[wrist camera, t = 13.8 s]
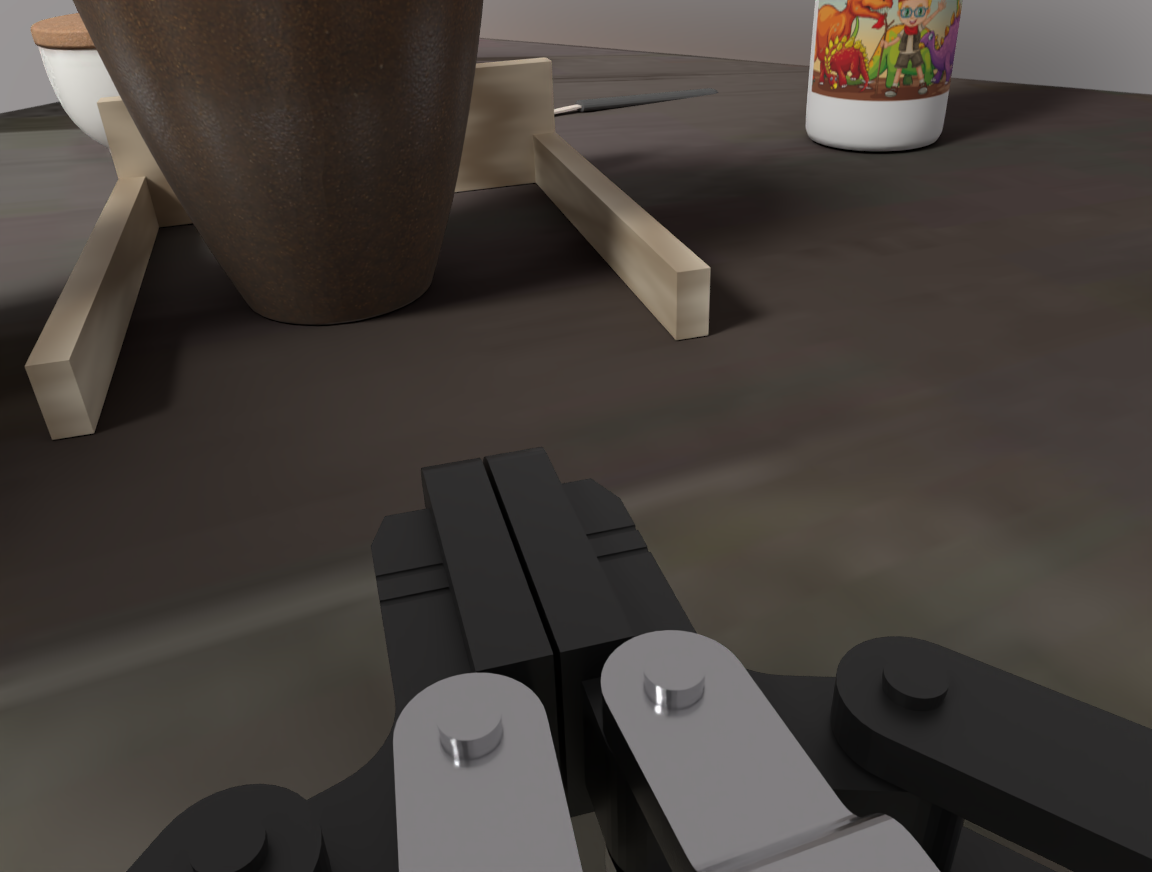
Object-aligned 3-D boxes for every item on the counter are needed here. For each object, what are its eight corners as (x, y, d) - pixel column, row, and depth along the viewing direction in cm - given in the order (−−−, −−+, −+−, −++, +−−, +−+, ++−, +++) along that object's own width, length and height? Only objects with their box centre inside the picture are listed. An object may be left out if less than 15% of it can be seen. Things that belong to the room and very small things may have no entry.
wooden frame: (51, 439, 29) (-19, 251, 26) (136, 223, 48) (100, 97, 45) (708, 335, 34) (713, 164, 31) (551, 174, 52) (545, 57, 49)
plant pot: (580, 325, 35) (558, -201, 27) (145, 410, 30) (-39, -187, 22) (469, 212, 47) (430, -174, 39) (146, 262, 43) (26, -161, 34)
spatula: (300, 151, 61) (295, 127, 61) (691, 91, 72) (691, 70, 71) (322, 172, 57) (318, 147, 56) (738, 105, 67) (739, 83, 66)
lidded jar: (97, 180, 55) (43, 2, 50) (52, 148, 62) (2, -10, 58) (273, 145, 61) (240, -18, 56) (213, 119, 68) (179, -27, 63)
